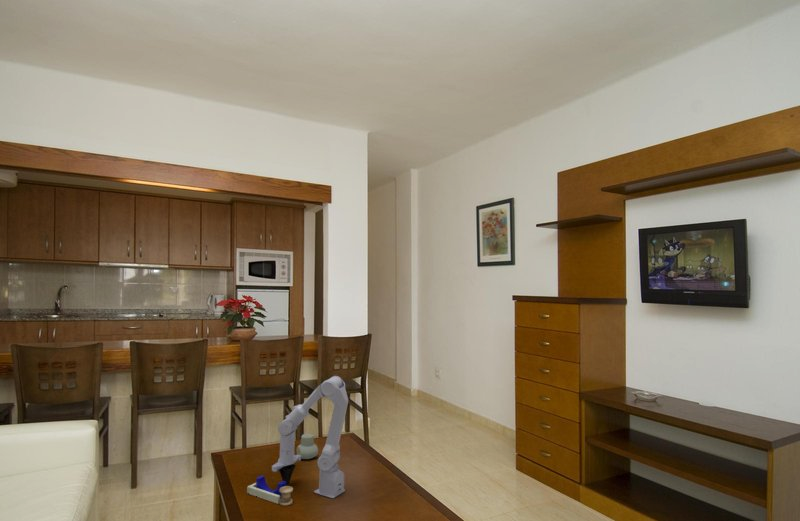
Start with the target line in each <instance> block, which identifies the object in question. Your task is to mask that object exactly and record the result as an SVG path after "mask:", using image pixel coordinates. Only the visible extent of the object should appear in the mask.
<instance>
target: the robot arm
mask: <svg viewBox="0 0 800 521" xmlns="http://www.w3.org/2000/svg"><path fill="white" fill-rule="evenodd" d="M324 397H325V398H328V400H330V401H331V402H332V404H333V409H332V414H331V420H330V422H329V427H328V432H327V435H326V436H327V437H326V441H325V445H324V447H323V449H322V451H321V455H320V456H319V457H318V459H317V462H316V463H317V467H318V469H319V475H318V476H319V477H318V489H315V490H314V491H313V493H315V494H317V495H321V496H322V497H327V498H330V499H334V498H336V497H338V496H340V495H341V494H342V493H344V492H346V489H345V472H344V471H341V470H340V468H339V465H338V462H339V461H340V459H341V452H340V449H341V446H340V441H341V435H342V431H343V427H344V422H345V417H346V413H347V410H348V406H349V405H348V404H349V397H348V393H347V390H346V383H345V381H344V380H343V379H342V377H340V376H338V375H333V376H331V377H330V378H328V379H326V380H324V381H323V382H322V383H320V385H317V387H316V388H315V389H314V390H313V391H312V393H311V394H310V395H309V396H308V397H307V398H306V400H305V401H304V402H303V403H302V404H297V405H294V406H293V407H292V411H290V412H289V414H287V415H285V419H284V420H281V421H280V422H279V424H278V426H277V430H278V433H279V434H280V435H279V436H280V438H279V440H280V441H279V458H278V459H277V460H278V461H277V462H276V463H274V464H273V465H271V472H273V473H276V472H279V474H280V477H281V482H282V481H286V486H289V484H290V481H291V478H292V475H293V473H294V470H295V469H296V464H295V463H296V462H299V461H302V459H301V455H298V454H297V453H296V454H295V441H296V440H295V439H296V438H295V437H296V430H297V429H298V426H299V425H301V423H302V422H303V421H304V420H305V419H306V418H307V417H308V415H309V409H311V408H312V407H313V405H315V404H316V403H317V402H318V401H319V400H320V398H324Z"/></svg>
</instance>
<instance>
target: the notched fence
mask: <svg viewBox="0 0 800 521" xmlns="http://www.w3.org/2000/svg"><path fill="white" fill-rule="evenodd" d="M248 493H249V494H248ZM246 494H248V495H251V496H254V497H256V496H257V497H256V498H259V499H262V500H265V501H269V502H271V503H274V504H276V505H280V504H279V501H280V497H281V496H280V495H277V494H274V493H271V492H268V491H265V490H262V489H259V488H256V482H254V483H252V484H249V485H248V486H247V487H246Z"/></svg>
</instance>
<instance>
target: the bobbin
mask: <svg viewBox="0 0 800 521" xmlns="http://www.w3.org/2000/svg"><path fill="white" fill-rule="evenodd" d="M293 490H294V488H293V486H290V485H286V486H284V487H281V488H280V493H282V499H280V501H279V504H278V505H280V506H284V507H285V506H286V507H288V506H290V505H292V504H293V499H292V498H291V493H292V492H294V491H293Z"/></svg>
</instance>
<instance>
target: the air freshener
mask: <svg viewBox="0 0 800 521" xmlns="http://www.w3.org/2000/svg"><path fill="white" fill-rule="evenodd" d="M300 437H301V439H300V444H299V445H297V447H296V455H297V454H298V455H301V460H311V459H313V458H315V457H317V455H318V454H319V448H318V445H317V444H316V443H315V435H314V434H312V433H304V434H302V435H301V436H300Z"/></svg>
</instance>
